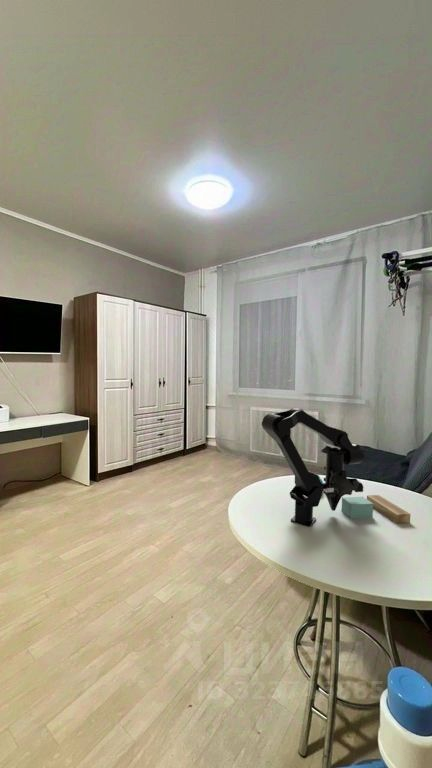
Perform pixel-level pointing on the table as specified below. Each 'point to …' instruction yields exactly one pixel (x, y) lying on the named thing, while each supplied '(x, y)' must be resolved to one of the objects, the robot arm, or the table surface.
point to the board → (389, 509)
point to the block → (357, 507)
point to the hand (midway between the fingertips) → (333, 510)
